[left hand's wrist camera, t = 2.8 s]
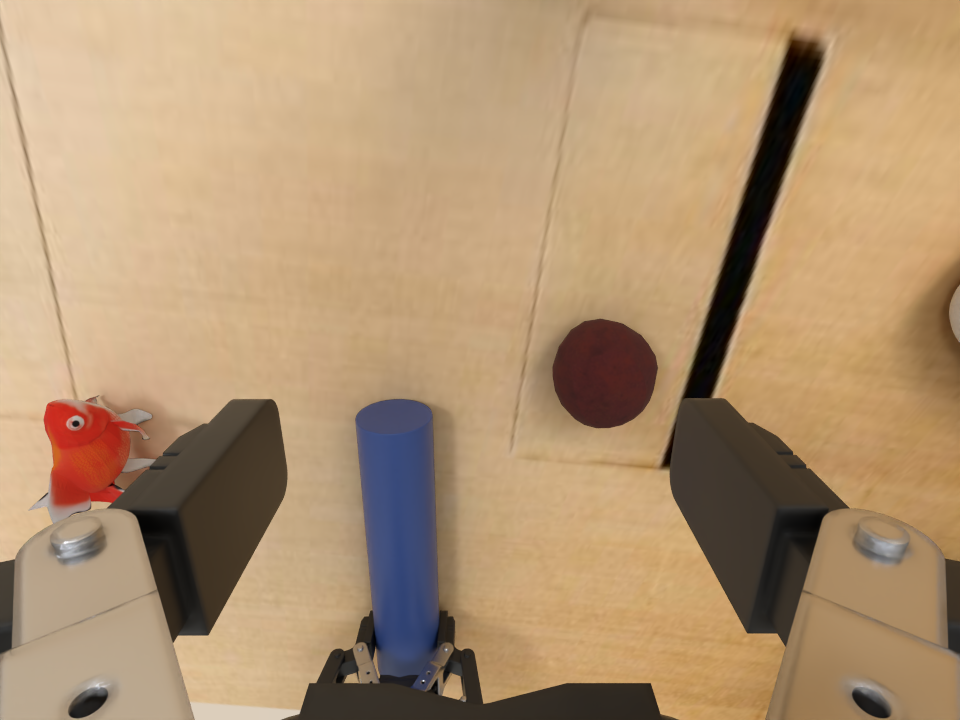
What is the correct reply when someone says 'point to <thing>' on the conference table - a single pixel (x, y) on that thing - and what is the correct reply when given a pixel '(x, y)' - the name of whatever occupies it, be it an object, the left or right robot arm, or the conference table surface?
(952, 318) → the white rounded housing
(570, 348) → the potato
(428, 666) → the right robot arm
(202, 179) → the conference table surface
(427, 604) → the rod
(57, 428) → the fish
